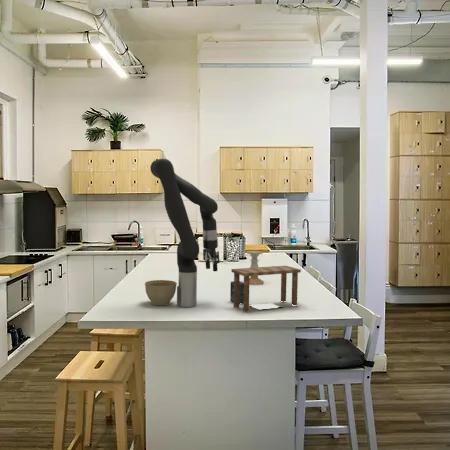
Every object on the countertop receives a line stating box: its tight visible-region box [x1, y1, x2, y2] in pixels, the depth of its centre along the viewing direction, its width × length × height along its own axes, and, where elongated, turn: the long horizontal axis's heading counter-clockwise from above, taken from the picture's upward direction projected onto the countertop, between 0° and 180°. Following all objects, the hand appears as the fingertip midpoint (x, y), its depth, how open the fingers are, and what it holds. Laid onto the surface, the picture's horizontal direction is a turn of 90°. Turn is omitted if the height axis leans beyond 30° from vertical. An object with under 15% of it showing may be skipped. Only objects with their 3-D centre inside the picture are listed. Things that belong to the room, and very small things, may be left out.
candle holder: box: [246, 250, 265, 285], centre depth 318 cm, size 12×12×20 cm
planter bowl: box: [144, 279, 178, 306], centre depth 258 cm, size 16×16×11 cm
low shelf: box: [231, 265, 302, 313], centre depth 254 cm, size 32×14×19 cm, turn 117°
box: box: [229, 280, 244, 305], centre depth 264 cm, size 8×6×11 cm
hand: (211, 270), depth 260 cm, fingers open, 8 cm apart
